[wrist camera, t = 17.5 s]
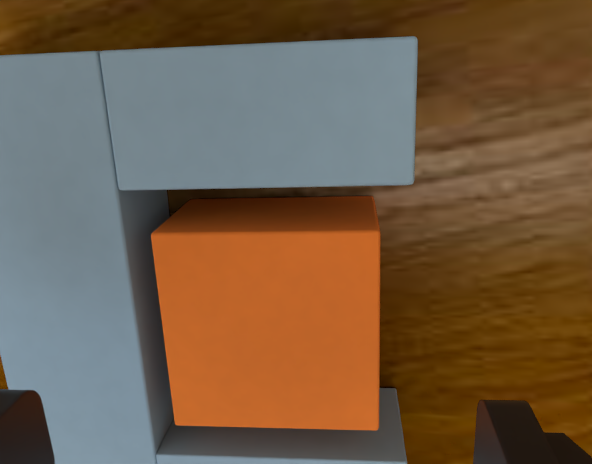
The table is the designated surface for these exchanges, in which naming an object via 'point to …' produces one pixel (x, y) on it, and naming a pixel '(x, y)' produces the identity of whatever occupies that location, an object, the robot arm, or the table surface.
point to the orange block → (272, 312)
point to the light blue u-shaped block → (155, 211)
